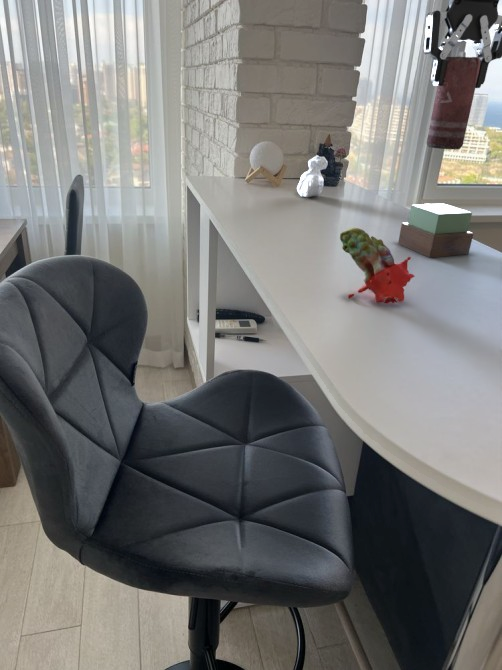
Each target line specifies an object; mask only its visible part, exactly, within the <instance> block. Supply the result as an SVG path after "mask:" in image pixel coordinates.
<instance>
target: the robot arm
mask: <svg viewBox="0 0 502 670" xmlns="http://www.w3.org/2000/svg"><path fill="white" fill-rule="evenodd" d="M499 2H500V0H448V5H447V8H446V9H445V10H444V11H440V10H433V11H430V12H428V13H427V14H426V18H425V20H426V21H425V31H424V46H423V53H424V55H426V56H429V57H431V58H432V59H433V65H432V70H431V74H430V75H431V76H430V82H432V86H433V87H437V86H442V84H443V79H444V74H445V69H446V64H447V61H446V60H445V59H446V57H449V55H450V53H451V51H452V50H453V48H454V47H455V46H456V45H457V44H458V43H459V42H462V41H464V42H466V43H472V48H473V49H474V51H475V57H478V58H480V61H481V63H480V69H479V74H478V78H477V83H476V87H475V89H480V88H481V86H482V85H484V83H485V81H486V77H487V73H488V70H489V69H488V68H489V64H490V63H491V62H492V61H495V60H499V59H501V58H502V15H501V14H499V11H498V5H499ZM443 23H445V25H446V28H447V30H446V32H445V34H444V36H443V37H442V39H441V40H440V39H439V38H440V28H441V27H442V25H443ZM492 27H494V28H493V29H494V31H495V33H494V36H493V38H492V40H491V35H490V29H491V28H492ZM439 40H440V43H439Z"/></svg>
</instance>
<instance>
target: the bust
mask: <svg viewBox="0 0 502 670" xmlns="http://www.w3.org/2000/svg"><path fill="white" fill-rule="evenodd" d="M328 163H329V162H328V160H327V159H326V157H325V156H319V154H317V155H315V156H313V157H312V158H310V159H309V160H307V164H308V165H307V166H308V170H307V171H304V172H303V173H302V174H301V176H300V178H299V182H298V184H297V186H296V191H297V193H298V195H299V196H300V197H302V198H310V197H318V196H319V195H320V194H321V193H322V192H323V189H324V187H325V185H324V181H325V180H324V176H323V175H322V172H321V171H322V170H326V169H327V167H328Z"/></svg>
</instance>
